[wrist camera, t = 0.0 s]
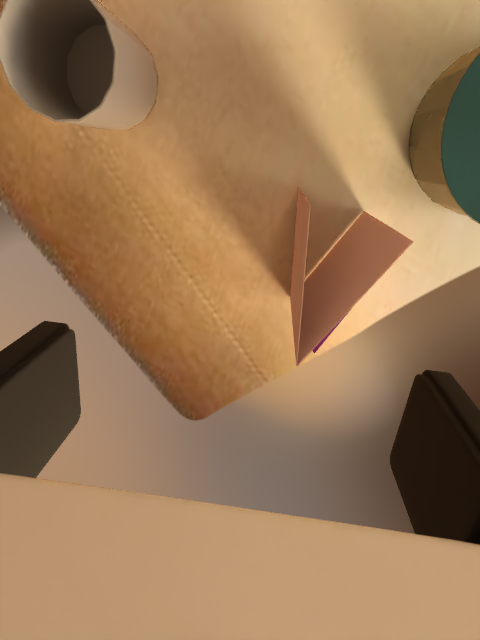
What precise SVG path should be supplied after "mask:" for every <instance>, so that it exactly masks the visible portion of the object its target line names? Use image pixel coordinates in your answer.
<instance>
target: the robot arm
mask: <svg viewBox="0 0 480 640" xmlns="http://www.w3.org/2000/svg"><path fill="white" fill-rule="evenodd" d="M79 394H80V393H79V380H78V368H77V354H76V341H75V333H74V331H73V330H71V329H69V327H68V325H67V324H64V323H57V322H49V321H44V322H42V323H40V324H39V325H37V326H36V327H35V328H33V329H32V330H30V331H29V332H27V333H26V334H25V335H23V336H22V337H20V338H19V339H17V340H16V341H15V342H13V343H12V344H10V345H9V346H8V347H6V348H5V349H3V350H2V351H0V640H480V410H479V409H478V408H477V406H476V405H475V404H474V403H473V401H472V400H471V399H470V397H469V396H468V395H467V394H466V393H465V391H464V390H463V389H462V387H461V386H460V385H459V384H458V382H457V381H456V380H455V379H454V377H453V376H452V375H451V374H450V373H447V372H439V371H431V370H425V371H424V372H423V373H422V375H420V374H418V375H416V377H415V379H414V382H413V385H412V388H411V391H410V394H409V397H408V400H407V404H406V407H405V410H404V413H403V416H402V420H401V423H400V426H399V429H398V432H397V435H396V439H395V442H394V445H393V448H392V451H391V455H390V464H391V468H392V471H393V474H394V477H395V480H396V482H397V485H398V488H399V490H400V493H401V496H402V499H403V502H404V504H405V507H406V510H407V513H408V515H409V518H410V521H411V524H412V526H413V529H414V532H415V534H411V533H405V532H398V531H392V530H385V529H379V528H372V527H365V526H358V525H352V524H346V523H339V522H332V521H326V520H319V519H312V518H306V517H299V516H292V515H285V514H279V513H272V512H265V511H258V510H251V509H245V508H238V507H232V506H225V505H218V504H211V503H205V502H197V501H191V500H184V499H177V498H170V497H162V496H156V495H149V494H142V493H136V492H129V491H121V490H114V489H107V488H101V487H94V486H87V485H81V484H73V483H66V482H59V481H52V480H45V479H38V478H36V477H37V476H38V474H39V473H40V471H41V470H42V469H43V468H44V466H45V465H46V464H47V463H48V461H49V460H50V458H51V457H52V456H53V455H54V453H55V452H56V451H57V449H58V448H59V446H60V445H61V444H62V443H63V441H64V440H65V439H66V437H67V436H68V434H69V433H70V432H71V431H72V429H73V428H74V427H75V425H76V424H77V422H78V420H79V418H80V413H81V407H80V395H79Z"/></svg>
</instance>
